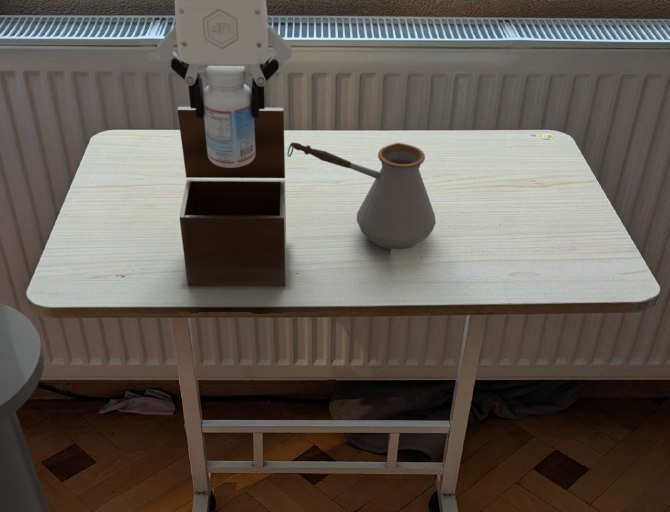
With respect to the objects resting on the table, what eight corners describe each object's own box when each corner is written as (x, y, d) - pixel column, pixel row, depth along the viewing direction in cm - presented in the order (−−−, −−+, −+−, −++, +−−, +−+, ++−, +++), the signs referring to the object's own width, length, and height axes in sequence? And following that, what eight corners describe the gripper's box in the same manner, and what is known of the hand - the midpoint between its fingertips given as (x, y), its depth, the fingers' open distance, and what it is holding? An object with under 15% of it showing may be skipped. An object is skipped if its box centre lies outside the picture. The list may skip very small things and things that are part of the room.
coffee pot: (426, 213, 127) (436, 119, 117) (440, 256, 119) (453, 159, 108) (286, 217, 125) (284, 122, 115) (291, 261, 117) (289, 163, 106)
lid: (283, 111, 104) (283, 88, 107) (177, 109, 103) (181, 87, 107) (285, 178, 112) (285, 155, 115) (186, 177, 111) (189, 154, 115)
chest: (285, 286, 113) (284, 217, 105) (187, 286, 112) (179, 217, 105) (286, 246, 120) (285, 179, 112) (193, 246, 119) (186, 179, 112)
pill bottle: (248, 143, 107) (243, 56, 100) (261, 165, 103) (258, 76, 96) (202, 150, 106) (194, 61, 98) (214, 173, 102) (206, 82, 94)
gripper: (130, -40, 85) (152, 127, 97) (299, -37, 86) (300, 128, 98) (140, -61, 90) (160, 99, 103) (299, -58, 91) (299, 101, 104)
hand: (228, 112), depth 100 cm, fingers closed on pill bottle, 6 cm apart
